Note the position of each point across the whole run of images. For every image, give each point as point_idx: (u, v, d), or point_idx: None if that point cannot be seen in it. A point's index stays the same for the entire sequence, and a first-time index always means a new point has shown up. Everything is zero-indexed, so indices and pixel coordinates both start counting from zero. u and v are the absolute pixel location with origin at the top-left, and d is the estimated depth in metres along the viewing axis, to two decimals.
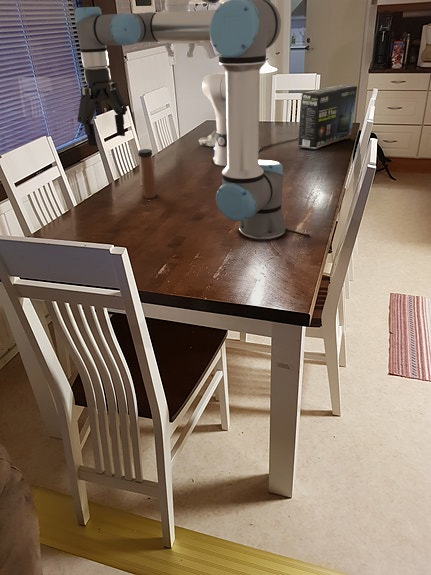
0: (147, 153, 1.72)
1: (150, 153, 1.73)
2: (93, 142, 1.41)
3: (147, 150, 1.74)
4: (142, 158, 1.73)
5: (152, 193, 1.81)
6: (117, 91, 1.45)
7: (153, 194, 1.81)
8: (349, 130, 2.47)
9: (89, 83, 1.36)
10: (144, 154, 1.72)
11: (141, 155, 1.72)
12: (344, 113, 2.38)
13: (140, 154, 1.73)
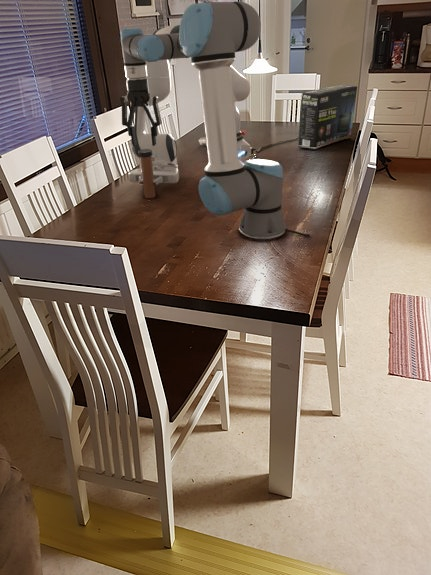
0: (147, 153, 1.72)
1: (150, 153, 1.73)
2: (155, 141, 1.72)
3: (147, 150, 1.74)
4: (142, 158, 1.73)
5: (152, 193, 1.81)
6: None
7: (153, 194, 1.81)
8: (349, 130, 2.47)
9: (147, 90, 1.62)
10: (144, 154, 1.72)
11: (141, 155, 1.72)
12: (344, 113, 2.38)
13: (140, 154, 1.73)
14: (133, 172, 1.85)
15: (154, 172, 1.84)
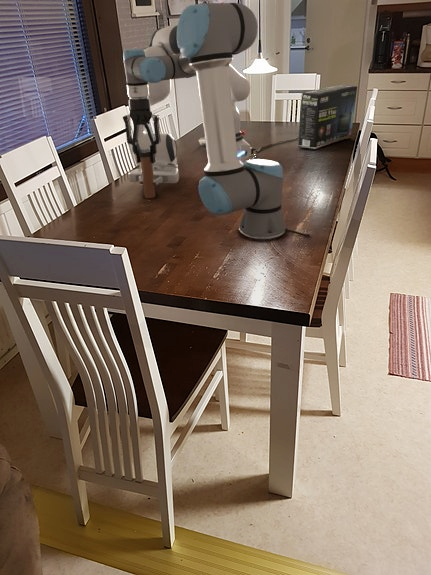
0: (147, 153, 1.72)
1: (150, 153, 1.73)
2: (154, 159, 1.76)
3: (147, 150, 1.74)
4: (142, 158, 1.73)
5: (152, 193, 1.81)
6: None
7: (153, 194, 1.81)
8: (349, 130, 2.47)
9: (149, 109, 1.65)
10: (144, 154, 1.72)
11: (141, 155, 1.72)
12: (344, 113, 2.38)
13: (140, 154, 1.73)
14: (133, 172, 1.85)
15: (154, 172, 1.84)
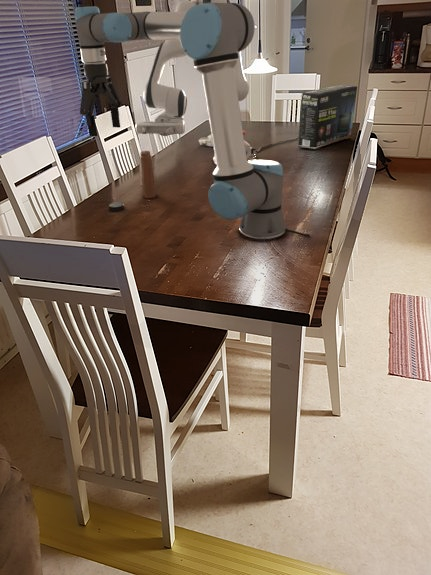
0: None
1: None
2: None
3: (115, 205, 1.71)
4: (142, 158, 1.73)
5: (152, 193, 1.81)
6: None
7: (153, 194, 1.81)
8: (349, 130, 2.47)
9: None
10: None
11: None
12: (344, 113, 2.38)
13: None
14: (140, 123, 1.88)
15: (161, 123, 1.87)
